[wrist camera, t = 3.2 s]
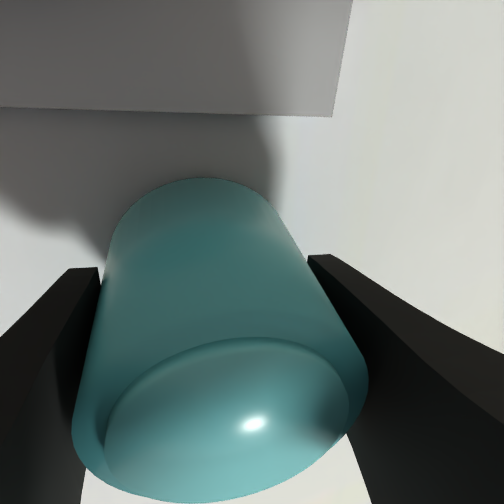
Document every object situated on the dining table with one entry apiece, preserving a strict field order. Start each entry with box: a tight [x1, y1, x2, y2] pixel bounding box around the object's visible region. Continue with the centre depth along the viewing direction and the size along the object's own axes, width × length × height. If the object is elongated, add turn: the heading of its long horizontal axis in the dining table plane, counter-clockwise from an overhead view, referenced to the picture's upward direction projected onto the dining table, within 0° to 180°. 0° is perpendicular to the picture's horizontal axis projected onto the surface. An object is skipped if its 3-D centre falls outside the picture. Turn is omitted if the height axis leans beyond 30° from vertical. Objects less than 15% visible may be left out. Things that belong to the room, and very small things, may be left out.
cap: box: [71, 178, 369, 503], centre depth 8 cm, size 5×5×5 cm
